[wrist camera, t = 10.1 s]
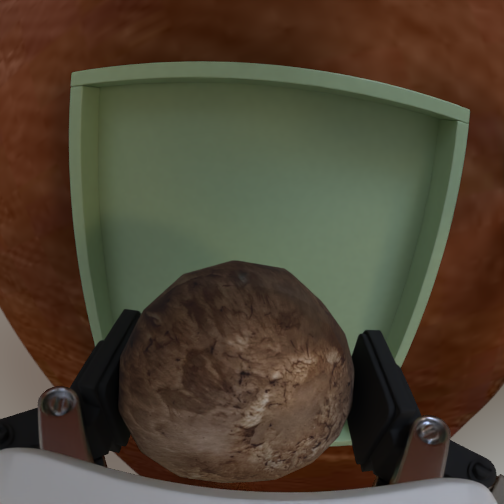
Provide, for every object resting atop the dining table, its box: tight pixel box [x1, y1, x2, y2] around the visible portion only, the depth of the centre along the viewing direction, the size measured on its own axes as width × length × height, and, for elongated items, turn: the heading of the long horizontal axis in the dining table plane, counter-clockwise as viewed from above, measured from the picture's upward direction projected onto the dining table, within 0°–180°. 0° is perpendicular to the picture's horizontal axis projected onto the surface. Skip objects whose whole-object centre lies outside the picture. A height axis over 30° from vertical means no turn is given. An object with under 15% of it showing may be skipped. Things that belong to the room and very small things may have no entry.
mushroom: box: [118, 260, 354, 483], centre depth 10 cm, size 8×8×6 cm
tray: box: [69, 61, 470, 446], centre depth 14 cm, size 19×15×2 cm
